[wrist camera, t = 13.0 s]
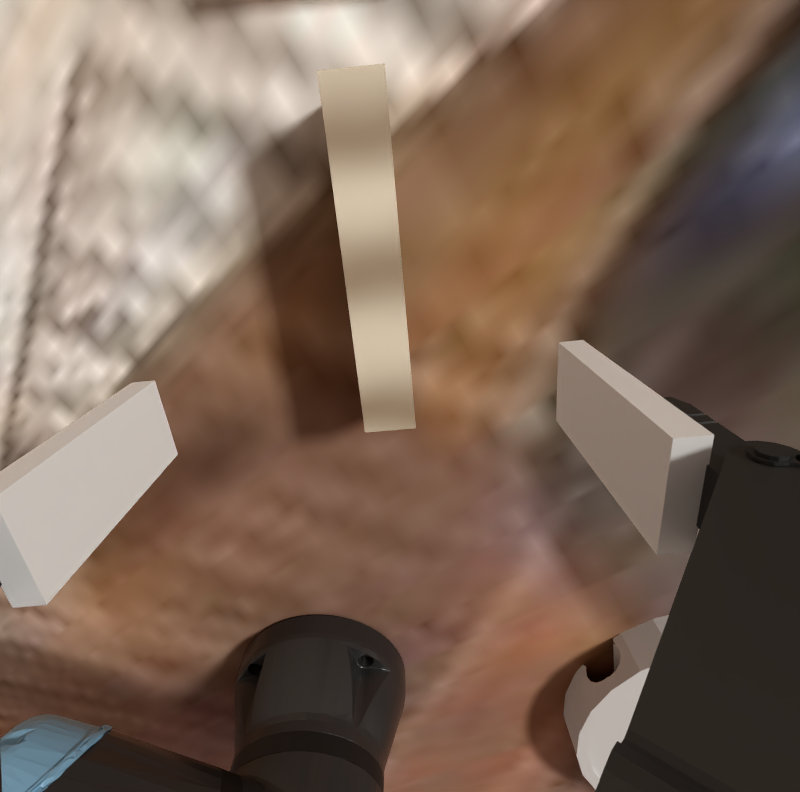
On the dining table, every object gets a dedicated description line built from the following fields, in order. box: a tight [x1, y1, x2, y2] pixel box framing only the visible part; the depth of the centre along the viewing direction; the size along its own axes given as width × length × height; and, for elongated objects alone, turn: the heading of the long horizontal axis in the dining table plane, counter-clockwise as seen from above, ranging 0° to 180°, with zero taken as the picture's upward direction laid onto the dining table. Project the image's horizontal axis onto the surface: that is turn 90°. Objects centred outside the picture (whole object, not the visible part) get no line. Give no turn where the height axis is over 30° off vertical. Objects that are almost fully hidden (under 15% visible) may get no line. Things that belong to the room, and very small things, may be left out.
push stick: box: [317, 64, 416, 432], centre depth 27 cm, size 18×3×6 cm, turn 5°
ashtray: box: [563, 615, 669, 790], centre depth 44 cm, size 23×23×4 cm
